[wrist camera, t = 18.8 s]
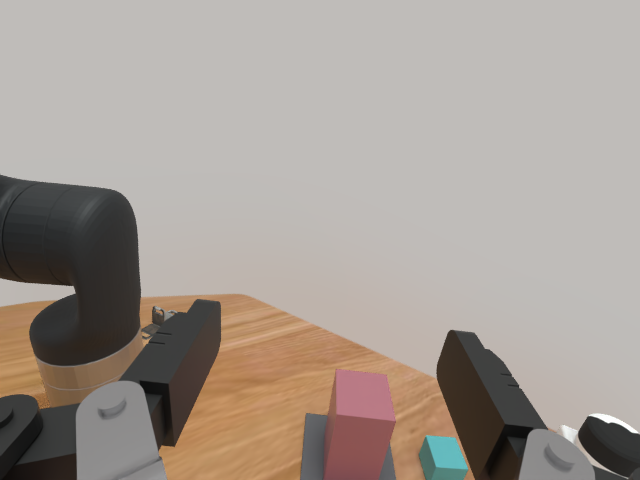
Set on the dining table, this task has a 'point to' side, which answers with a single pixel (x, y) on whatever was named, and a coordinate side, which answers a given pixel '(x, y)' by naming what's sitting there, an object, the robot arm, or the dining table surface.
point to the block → (442, 459)
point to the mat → (315, 451)
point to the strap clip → (156, 321)
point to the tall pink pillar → (358, 426)
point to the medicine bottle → (607, 443)
